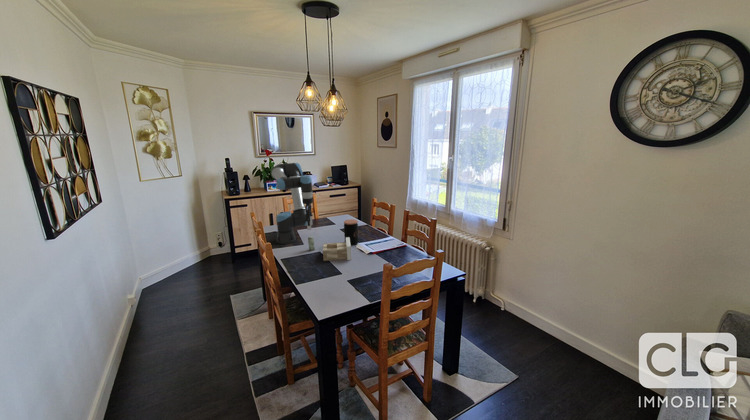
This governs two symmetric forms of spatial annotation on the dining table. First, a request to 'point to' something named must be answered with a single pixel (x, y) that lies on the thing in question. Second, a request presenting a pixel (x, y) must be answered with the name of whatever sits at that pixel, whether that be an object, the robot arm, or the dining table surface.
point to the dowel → (311, 243)
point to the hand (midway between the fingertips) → (310, 227)
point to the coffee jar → (351, 231)
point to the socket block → (334, 251)
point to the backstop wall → (348, 248)
